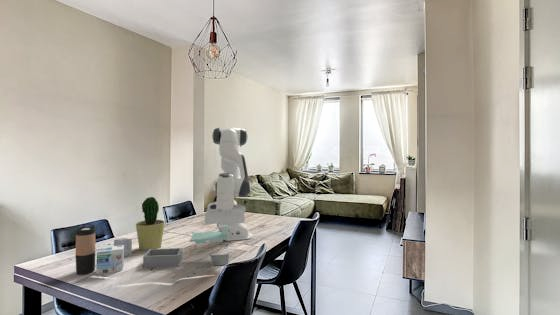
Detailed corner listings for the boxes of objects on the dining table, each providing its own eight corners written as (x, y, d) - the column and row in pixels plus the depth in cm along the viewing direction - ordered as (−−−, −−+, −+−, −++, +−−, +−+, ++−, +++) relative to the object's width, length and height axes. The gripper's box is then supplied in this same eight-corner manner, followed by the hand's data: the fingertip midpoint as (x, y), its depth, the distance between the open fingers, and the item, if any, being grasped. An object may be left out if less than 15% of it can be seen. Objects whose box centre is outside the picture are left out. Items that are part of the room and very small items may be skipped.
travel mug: (80, 276, 133) (80, 231, 133) (72, 272, 137) (72, 228, 137) (98, 270, 139) (98, 227, 139) (90, 267, 143) (90, 225, 143)
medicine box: (132, 255, 161) (132, 239, 161) (125, 257, 157) (125, 241, 157) (120, 253, 164) (120, 237, 164) (113, 256, 159) (113, 239, 159)
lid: (228, 233, 162) (227, 223, 162) (227, 241, 148) (227, 229, 148) (193, 236, 159) (193, 225, 159) (189, 244, 145) (189, 232, 145)
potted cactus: (158, 242, 184) (158, 193, 183) (169, 248, 173) (169, 196, 172) (131, 247, 173) (131, 195, 173) (141, 254, 162) (141, 198, 162)
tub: (182, 259, 155) (182, 248, 155) (178, 267, 144) (178, 255, 144) (149, 261, 152) (149, 249, 152) (143, 269, 142) (143, 256, 141)
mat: (228, 255, 163) (228, 254, 163) (228, 265, 148) (228, 264, 148) (192, 256, 160) (192, 255, 160) (188, 267, 145) (188, 266, 145)
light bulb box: (95, 276, 134) (96, 251, 133) (98, 270, 140) (98, 247, 140) (123, 272, 138) (123, 248, 138) (124, 267, 144) (124, 244, 144)
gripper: (245, 203, 159) (244, 230, 159) (205, 204, 156) (205, 230, 156) (245, 205, 153) (245, 233, 153) (204, 206, 150) (204, 233, 150)
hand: (224, 231), depth 155 cm, fingers closed on lid, 3 cm apart
